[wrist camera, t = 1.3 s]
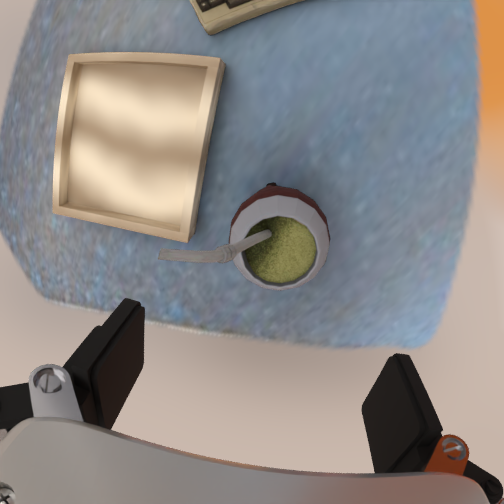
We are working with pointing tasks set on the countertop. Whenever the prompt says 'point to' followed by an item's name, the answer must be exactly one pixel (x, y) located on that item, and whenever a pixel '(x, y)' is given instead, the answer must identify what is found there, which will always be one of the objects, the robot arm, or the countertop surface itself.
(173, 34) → the countertop surface
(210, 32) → the computer
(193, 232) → the tray
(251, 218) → the mate gourd
